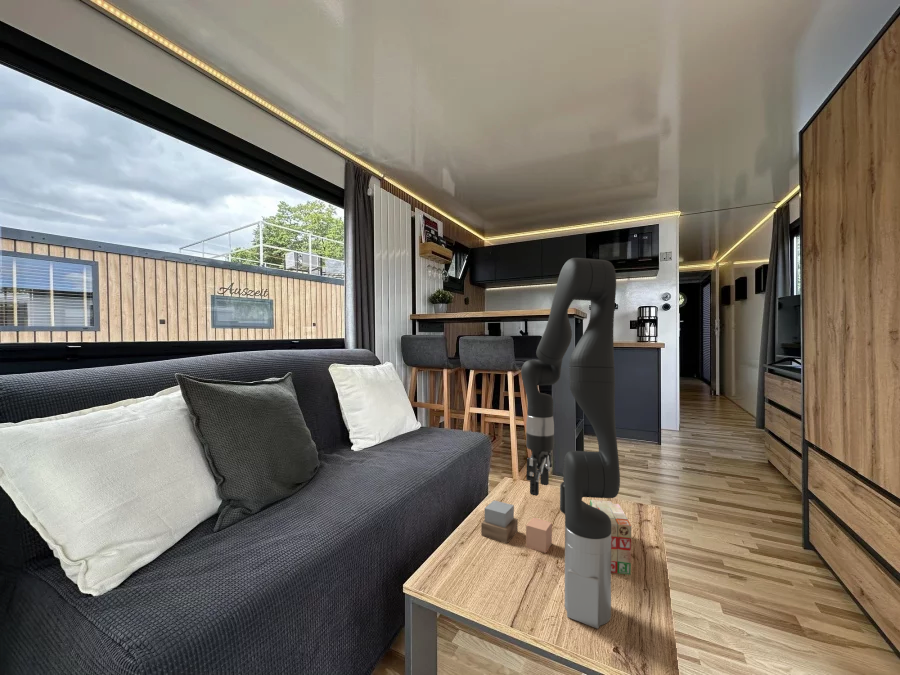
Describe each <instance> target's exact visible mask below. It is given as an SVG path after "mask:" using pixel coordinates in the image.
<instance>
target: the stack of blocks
mask: <svg viewBox="0 0 900 675" xmlns="http://www.w3.org/2000/svg"><path fill="white" fill-rule="evenodd" d="M589 505H590V506H592V507H595V508H597V509H599V510H601V511H603V512H604V513H606V514H607V515H608V516H609V518H610V520H611V574H612V573H613V574H619V575H620V574H623V575H627V576H628V575H629V576H630V575H631V571H632V563H631V562H632V561H631V558H632V556H631V555H632V553H631V550H632V525H631V522H630V521H629V519H628V516H627V515H626V514H625V512H624V510H623V509H622V507H621V505H620V504H619V503H613V502H612V501H611V500H600V499H599V500H598V499H589Z"/></svg>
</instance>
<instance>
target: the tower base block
mask: <svg viewBox="0 0 900 675" xmlns="http://www.w3.org/2000/svg"><path fill="white" fill-rule="evenodd" d="M518 522H519V520H518V518H516V517H514V519H513V520H512V521H511V522H510V523H509V524H508V525H507V526H506V527H505V528H504V527H501V526H497V525H494V524H490V523H487V522H485V519H484V520H483V521H482V522H481V524H480V525H481V527H480V528H481V529H480V532H481V533H480V534H481V535H482V537H486V538H488V539H491V540H495V541H498V542H501V543H504V544H507V543H509V542H510V540H511V539H512V538H513V537H514V536H515V535H516V534H517V532H518V526H519V525H518ZM481 535H480V536H481Z"/></svg>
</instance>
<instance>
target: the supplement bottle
mask: <svg viewBox="0 0 900 675" xmlns="http://www.w3.org/2000/svg"><path fill="white" fill-rule="evenodd" d="M562 476H563V477H562V482H561V483H560V486H559V510H560V511H561V513H563V515H565V487H564V474H563V475H562Z"/></svg>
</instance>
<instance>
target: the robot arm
mask: <svg viewBox="0 0 900 675" xmlns="http://www.w3.org/2000/svg"><path fill="white" fill-rule="evenodd" d="M616 291H617V274H616V269H615V266H614V265H613V263H612V262H611V261H609V260H606V259H597V258H587V257H586V258H584V257H572V258H570V259H569V258H568V260H567V261H566V262H565V263H564V265H563V266H562V268H561V270H560V272H559V275H558V278H557V283H556V287H555V291H554V294H553V297H552V298H553V299H552V302H551V306H550V311H549V316H548V318H547V319H548V321H547V323H546V326H545V328H544V329H545V330H544V332H543V333H542V337H541V339H540V341H539V343H538V345H537V349H536V350H535V351H536V352H535V353H536V354H535V355H536V357H537V359H529V360H526V361H525V362H524V363H523V364H522V366H521V370H520V373H521V374H520V375H521V379H522V383H523V386H524V390H525V395H526V401H527V403H526V404H527V412H526V413H527V414H526V416H527V417H526V424H525V425H526V426H525V428H526V429H525V430H526V432H525V435H526V436H525V437H526V438H525V440H526V441H525V443H526V445H525V446H526V448H527V449H528V450H530V451H531V455H530V457H527V458H526V478H525V479H526V481H529V494H530V495H531V496H536V497H537V496H539V493H540V492H539V490H540V489H539V488H540V486H539V485H540V484H541V485H542V486H543V485H544V486H548V485H549V483H550V482H549V481H550V478H549V477H550V473H549V472H550V470H551V468H552V467H553V464H552V463H553V460H552V458H553V456H552V451H553V450H554V449H555V435H554V434H555V422H554V421H555V420H554V398H553V396H552V395H551V394H547V393H543V392H540V391H539V389H538V386H552V385H555V384H556V383H558V381H559V380H560V378H561V371H562V365H563V364H562V363H563V359H564V357H565V355H566V352H567V350H568V348H569V346H570V345H571V342H572V338H573V337H572V336H573V334H572V333H573V331H572V327H571V326H572V325H571V322H570V319H569V313H568V312H569V308H570V306H571V304H572V303H573V301H575V300H576V301H589V302H590V312H589V313H590V315H589V320H588V324H587V327H586V329H585V330H584V332H583V334H582V335H581V337H580V339H579V340H578V342H577V344H576V345H575V347H574V349H573V351H572V353H571V355H570V358H569V390H570V393H571V395H572V396H573V399H574V400H575V402H576V403H577V405H578V406H579V407H580V409H581V410H582V412H583V413H584V415H585V416H586V418H587V420H588V421H589V423H590V425H591V427H592V428H593V431H594V433H595V436H596V439H597V440H596V441H597V444H598V451H588V450H587V451H585V450H584V451H583V450H569V451H568V452H566V454H565V456H564V459H563V475H564V481H563V482H564V487H565V514H564V607H565V610H566V617H567V618H569V619H572V620H574V621H577V622H579V623H582V624H584V625H587V626H589V627H593V628H595V629H599V628H600V626H602V625H605V624H607V623H608V622H610V620H611V618H612V573H611V520H610V518H609V516H608V515H607V514H606V513H604V512H603V511H601V510H599V509H597V508H595V507H592V506H590V504H588V503H586V502H584V501H583V498H592V499H593V498H594V499H615V498H616V497H617V496H618V494H619V492H620V487H621V472H620V471H621V470H620V461H619V450H618V442H617V441H618V440H617V430H616V429H617V428H616V401H615V400H616V396H615V395H616V392H615V391H616V371H615V370H616V369H615V356H614V355H615V354H614V351H615V350H614V324H615V322H614V320H615V319H614V318H615V307H616V306H615V305H616V295H617V294H616V293H617V292H616Z"/></svg>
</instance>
